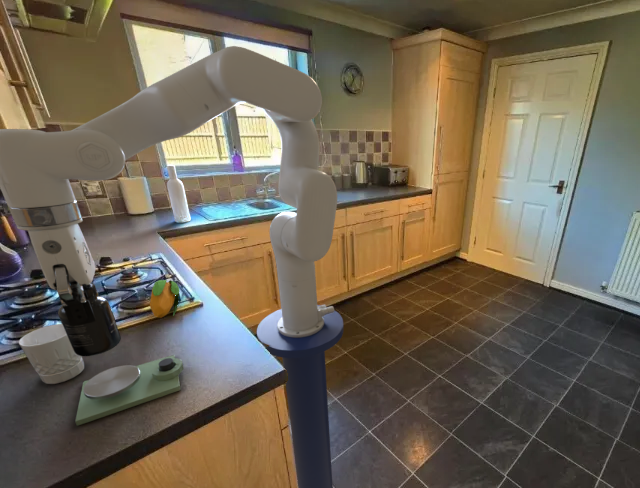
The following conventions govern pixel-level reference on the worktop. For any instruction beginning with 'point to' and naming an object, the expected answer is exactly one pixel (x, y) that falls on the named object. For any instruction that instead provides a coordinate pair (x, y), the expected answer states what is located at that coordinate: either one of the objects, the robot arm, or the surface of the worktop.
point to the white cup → (51, 354)
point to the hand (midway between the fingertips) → (86, 312)
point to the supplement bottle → (92, 326)
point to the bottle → (177, 196)
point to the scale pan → (111, 382)
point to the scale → (133, 391)
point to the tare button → (166, 364)
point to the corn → (164, 298)
